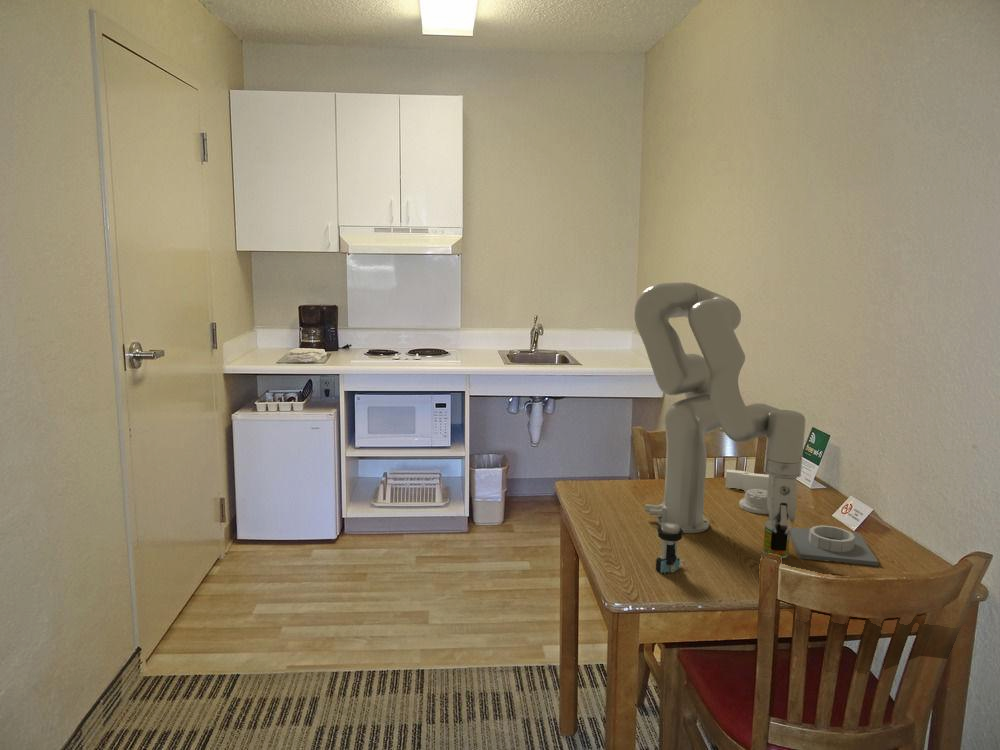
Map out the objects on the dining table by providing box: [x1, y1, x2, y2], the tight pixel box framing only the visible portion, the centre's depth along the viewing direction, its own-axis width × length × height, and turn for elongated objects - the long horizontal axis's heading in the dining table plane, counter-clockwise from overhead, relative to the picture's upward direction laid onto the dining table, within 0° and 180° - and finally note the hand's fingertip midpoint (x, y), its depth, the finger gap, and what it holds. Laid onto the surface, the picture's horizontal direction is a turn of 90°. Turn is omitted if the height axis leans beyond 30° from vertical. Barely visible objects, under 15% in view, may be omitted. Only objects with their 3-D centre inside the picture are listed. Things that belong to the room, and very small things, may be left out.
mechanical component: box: [738, 489, 769, 515], centre depth 191 cm, size 10×4×10 cm
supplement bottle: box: [762, 514, 791, 559], centre depth 161 cm, size 5×5×10 cm
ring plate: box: [790, 524, 879, 567], centre depth 166 cm, size 16×16×4 cm
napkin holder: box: [725, 468, 769, 492], centre depth 206 cm, size 15×11×6 cm
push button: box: [655, 522, 684, 574], centre depth 153 cm, size 7×5×10 cm
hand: (776, 543), depth 162 cm, fingers closed on supplement bottle, 5 cm apart
